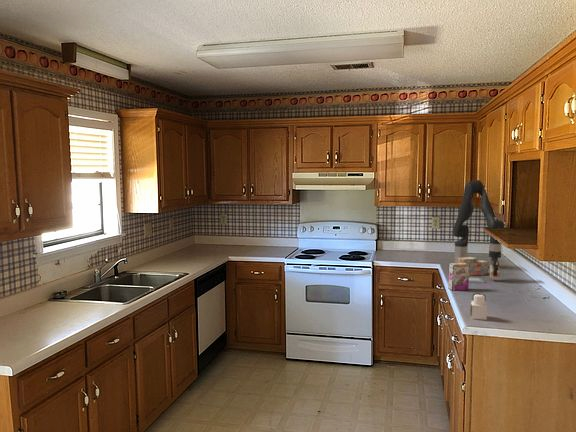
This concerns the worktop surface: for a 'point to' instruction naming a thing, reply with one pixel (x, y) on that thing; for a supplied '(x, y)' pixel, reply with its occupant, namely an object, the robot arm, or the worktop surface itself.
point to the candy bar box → (458, 276)
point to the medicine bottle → (478, 307)
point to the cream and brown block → (492, 272)
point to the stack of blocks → (475, 265)
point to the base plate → (476, 280)
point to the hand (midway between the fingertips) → (494, 275)
